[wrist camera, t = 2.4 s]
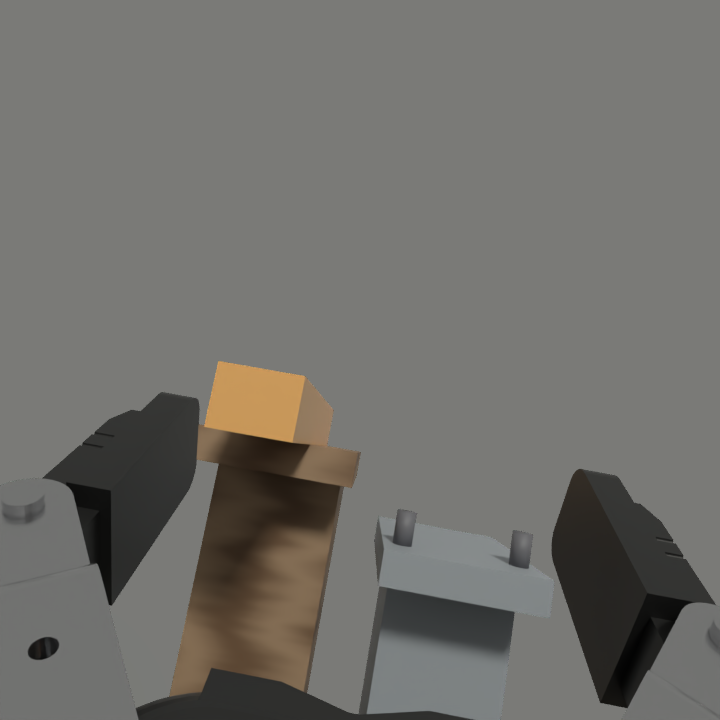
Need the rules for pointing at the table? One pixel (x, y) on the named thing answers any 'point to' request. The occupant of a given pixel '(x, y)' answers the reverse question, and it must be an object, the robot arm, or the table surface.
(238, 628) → the tall walnut stand
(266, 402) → the orange bar
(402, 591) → the tall gray pegged stand
